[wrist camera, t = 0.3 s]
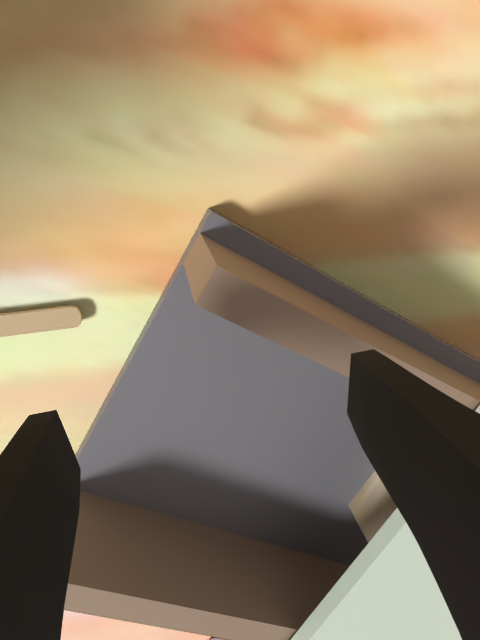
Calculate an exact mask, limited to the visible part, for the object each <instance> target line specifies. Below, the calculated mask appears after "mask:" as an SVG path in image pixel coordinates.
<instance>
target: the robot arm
mask: <svg viewBox="0 0 480 640" xmlns="http://www.w3.org/2000/svg"><path fill="white" fill-rule="evenodd" d="M347 414H348V417H349V419H350V422H351V424H352V426H353V429H354V431H355V433H356V436H357V438H358V440H359V442H360V445H361V447H362V449H363V451H364V452H365V454H366V456H367V457H368V459H369V461H370V463H371V464H372V466H373V468H374V469H375V471H376V473H377V474H378V476H379V478H380V480H381V481H382V483H383V485H384V486H385V488H386V490H387V491H388V493H389V495H390V496H391V498H392V500H393V501H394V503H395V505H396V506H397V508H398V510H399V511H400V513H401V515H402V516H403V518H404V520H405V521H406V523H407V525H408V526H409V528H410V530H411V532H412V534H413V535H414V537H415V539H416V541H417V543H418V545H419V547H420V549H421V551H422V553H423V555H424V557H425V559H426V561H427V563H428V566H429V568H430V570H431V572H432V574H433V576H434V578H435V580H436V582H437V584H438V587H439V589H440V591H441V593H442V596H443V598H444V600H445V602H446V604H447V607H448V609H449V611H450V613H451V615H452V618H453V620H454V622H455V624H456V627H457V629H458V631H459V633H460V636H461V638H462V640H480V414H479V413H478V412H476V411H474V410H472V409H470V408H468V407H467V406H465V405H463V404H461V403H460V402H458V401H456V400H455V399H453V398H451V397H449V396H448V395H446V394H444V393H443V392H441V391H440V390H438V389H436V388H435V387H433V386H431V385H430V384H428V383H427V382H425V381H423V380H422V379H420V378H419V377H417V376H416V375H414V374H412V373H411V372H409V371H408V370H406V369H405V368H403V367H402V366H400V365H398V364H397V363H395V362H394V361H392V360H391V359H389V358H388V357H386V356H384V355H383V354H381V353H380V352H378V351H376V350H374V349H372V350H367V351H361V352H356V353H351V360H350V375H349V389H348V404H347ZM80 477H81V468H80V466H79V463H78V461H77V459H76V456H75V454H74V451H73V449H72V447H71V444H70V442H69V439H68V437H67V435H66V432H65V430H64V427H63V425H62V422H61V420H60V418H59V415H58V413H57V410H54V411H49V412H43V413H38V414H33V415H29V416H28V418H27V419H26V420H25V422H24V423H23V424H22V425H21V427H20V428H19V430H18V431H17V432H16V434H15V435H14V436H13V438H12V439H11V441H10V442H9V443H8V445H7V446H6V448H5V449H4V450H3V452H2V453H1V455H0V640H60V638H61V628H62V620H63V612H64V605H65V599H66V593H67V587H68V580H69V574H70V568H71V562H72V556H73V549H74V543H75V536H76V530H77V523H78V517H79V508H80ZM211 640H225V639H220V638H213V639H211Z"/></svg>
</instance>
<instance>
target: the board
mask: <svg viewBox="0 0 480 640" xmlns="http://www.w3.org/2000/svg"><path fill="white" fill-rule="evenodd" d="M372 349H374V350H376V351H378V352H380V353H381V354H383V355H384V356H386V357H388V358H389V359H391V360H392V361H394V362H395V363H397V364H398V365H400V366H402V367H403V368H405V369H406V370H408V371H409V372H411V373H412V374H414V375H416V376H417V377H419V378H420V379H422V380H423V381H425V382H427V383H428V384H430V385H431V386H433V387H435V388H436V389H438V390H440V391H441V392H443V393H444V394H446V395H448V396H449V397H451V398H453V399H455V400H456V401H458V402H460V403H461V404H463V405H465V406H467V407H468V408H470V409H472V410H474V411H475V410H476V409H477V408H478V407H479V405H480V361H478V360H476V359H475V358H473V357H471V356H469V355H468V354H466V353H464V352H462V351H461V350H459V349H457V348H455V347H453V346H452V345H450V344H448V343H446V342H445V341H443V340H441V339H439V338H438V337H436V336H434V335H432V334H430V333H429V332H427V331H425V330H423V329H422V328H420V327H418V326H416V325H415V324H413V323H411V322H409V321H407V320H406V319H404V318H402V317H400V316H399V315H397V314H395V313H393V312H392V311H390V310H388V309H386V308H384V307H383V306H381V305H379V304H377V303H376V302H374V301H372V300H370V299H369V298H367V297H365V296H363V295H361V294H360V293H358V292H356V291H354V290H353V289H351V288H349V287H347V286H346V285H344V284H342V283H340V282H338V281H337V280H335V279H333V278H331V277H330V276H328V275H326V274H324V273H323V272H321V271H319V270H317V269H315V268H314V267H312V266H310V265H308V264H307V263H305V262H303V261H301V260H300V259H298V258H296V257H294V256H292V255H291V254H289V253H287V252H285V251H284V250H282V249H280V248H278V247H277V246H275V245H273V244H271V243H269V242H268V241H266V240H264V239H262V238H261V237H259V236H257V235H255V234H254V233H252V232H250V231H248V230H246V229H245V228H243V227H241V226H239V225H238V224H236V223H234V222H232V221H231V220H229V219H227V218H225V217H224V216H222V215H220V214H218V213H216V212H215V211H213V210H211V209H209V208H208V210H207V211H206V213H205V215H204V217H203V219H202V221H201V223H200V224H199V226H198V228H197V230H196V232H195V234H194V236H193V237H192V239H191V241H190V243H189V245H188V247H187V249H186V250H185V252H184V254H183V256H182V258H181V260H180V262H179V263H178V265H177V267H176V269H175V271H174V273H173V275H172V277H171V278H170V280H169V282H168V284H167V286H166V288H165V290H164V291H163V293H162V295H161V297H160V299H159V301H158V303H157V304H156V306H155V308H154V310H153V312H152V314H151V316H150V317H149V319H148V321H147V323H146V325H145V327H144V329H143V330H142V332H141V334H140V336H139V338H138V340H137V342H136V343H135V345H134V347H133V349H132V351H131V353H130V355H129V356H128V358H127V360H126V362H125V364H124V366H123V368H122V369H121V371H120V373H119V375H118V377H117V379H116V381H115V382H114V384H113V386H112V388H111V390H110V392H109V394H108V395H107V397H106V399H105V401H104V403H103V405H102V407H101V408H100V410H99V412H98V414H97V416H96V418H95V420H94V421H93V423H92V425H91V427H90V429H89V431H88V433H87V435H86V436H85V438H84V440H83V442H82V444H81V446H80V448H79V449H78V451H77V453H76V455H75V456H76V459H77V461H78V463H79V466H80V468H81V477H80V508H79V517H78V523H77V530H76V536H75V543H74V549H73V556H72V562H71V568H70V574H69V580H68V587H67V593H66V599H65V605H64V610H67V611H72V612H78V613H84V614H89V615H95V616H100V617H106V618H111V619H117V620H123V621H128V622H134V623H139V624H145V625H150V626H156V627H162V628H167V629H173V630H178V631H184V632H189V633H195V634H201V635H206V636H212V637H217V638H223V639H228V640H291V639H292V637H293V636H294V635H295V634H296V632H297V631H298V630H299V629H300V627H301V626H302V625H303V624H304V622H305V621H306V620H307V619H308V617H309V616H310V615H311V614H312V613H313V611H314V610H315V609H316V608H317V606H318V605H319V604H320V603H321V601H322V600H323V599H324V598H325V596H326V595H327V594H328V593H329V591H330V590H331V589H332V588H333V586H334V585H335V584H336V583H337V581H338V580H339V579H340V578H341V577H342V575H343V574H344V573H345V572H346V570H347V569H348V568H349V567H350V565H351V564H352V563H353V562H354V560H355V559H356V558H357V557H358V555H359V554H360V553H361V552H362V550H363V549H364V548H365V547H366V546H367V544H368V541H367V540H366V538H365V536H364V534H363V532H362V530H361V529H360V527H359V525H358V523H357V521H356V519H355V517H354V516H353V514H352V512H351V510H350V508H349V506H348V505H349V504H350V502H351V501H352V500H353V498H354V497H355V496H356V494H357V493H358V492H359V491H360V489H361V488H362V487H363V485H364V484H365V483H366V481H367V480H368V479H369V477H370V476H371V475H372V474H373V472H374V471H375V469H374V468H373V466H372V464H371V463H370V461H369V459H368V457H367V456H366V454H365V452H364V451H363V449H362V447H361V445H360V442H359V440H358V438H357V436H356V433H355V431H354V429H353V426H352V424H351V422H350V419H349V417H348V414H347V404H348V389H349V375H350V360H351V353H356V352H361V351H367V350H372Z"/></svg>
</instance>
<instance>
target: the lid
mask: <svg viewBox="0 0 480 640" xmlns="http://www.w3.org/2000/svg"><path fill="white" fill-rule="evenodd" d="M475 411H476V412H478V413H479V414H480V405H479V407H478V408H477V409H476V410H475ZM291 640H462V638H461V636H460V633H459V631H458V629H457V627H456V624H455V622H454V620H453V618H452V615H451V613H450V611H449V609H448V607H447V604H446V602H445V600H444V598H443V596H442V593H441V591H440V589H439V587H438V584H437V582H436V580H435V578H434V576H433V574H432V572H431V570H430V568H429V566H428V563H427V561H426V559H425V557H424V555H423V553H422V551H421V549H420V547H419V545H418V543H417V541H416V539H415V537H414V535H413V534H412V532H411V530H410V528H409V526H408V525H407V523H406V521H405V520H404V518H403V516H402V515H401V513H400V511H399V510H398V508H396V510H395V511H394V512H393V513H392V515H391V516H390V517H389V518H388V519H387V521H386V522H385V523H384V524H383V526H382V527H381V528H380V529H379V531H378V532H377V533H376V534H375V536H374V537H373V538H372V539H371V541H370V542H369V543H368V544H367V546H366V547H365V548H364V549H363V550H362V552H361V553H360V554H359V555H358V557H357V558H356V559H355V560H354V562H353V563H352V564H351V565H350V567H349V568H348V569H347V570H346V572H345V573H344V574H343V575H342V577H341V578H340V579H339V580H338V581H337V583H336V584H335V585H334V586H333V588H332V589H331V590H330V591H329V593H328V594H327V595H326V596H325V598H324V599H323V600H322V601H321V603H320V604H319V605H318V606H317V608H316V609H315V610H314V611H313V613H312V614H311V615H310V616H309V617H308V619H307V620H306V621H305V622H304V624H303V625H302V626H301V627H300V629H299V630H298V631H297V632H296V634H295V635H294V636H293V637H292V639H291Z"/></svg>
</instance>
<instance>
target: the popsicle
mask: <svg viewBox="0 0 480 640" xmlns="http://www.w3.org/2000/svg"><path fill="white" fill-rule="evenodd" d="M81 321H82V314H81V311H80V309H79V308H78V307H77V306H74V305H69V306H60V307H52V308H43V309H35V310H27V311H18V312H10V313H2V314H0V337H3V336H11V335H19V334H27V333H35V332H43V331H51V330H59V329H66V328H74V327H77V326H79V325H80V324H81Z"/></svg>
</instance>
